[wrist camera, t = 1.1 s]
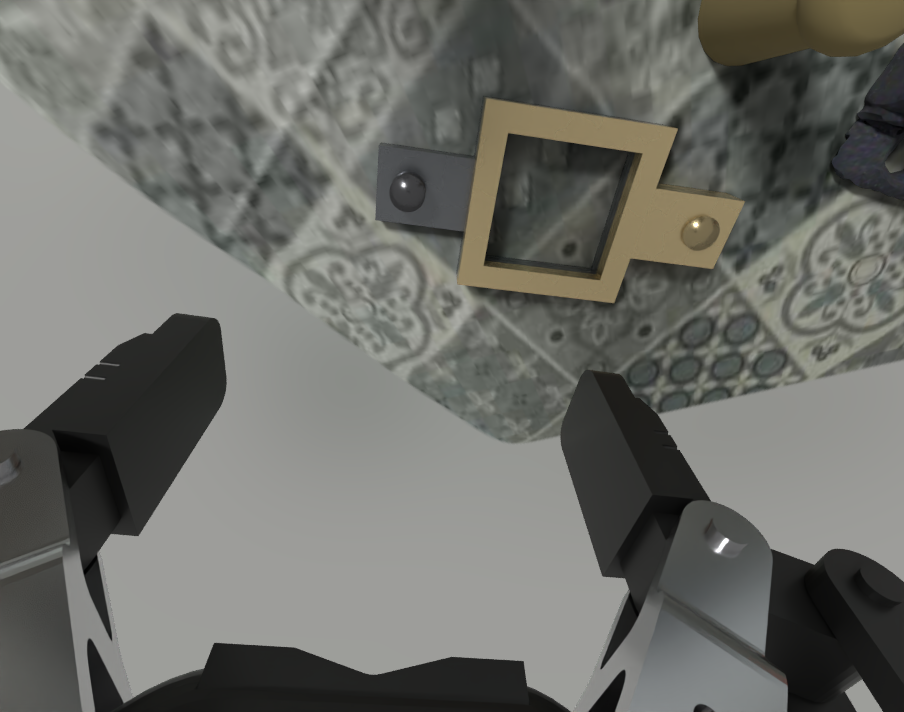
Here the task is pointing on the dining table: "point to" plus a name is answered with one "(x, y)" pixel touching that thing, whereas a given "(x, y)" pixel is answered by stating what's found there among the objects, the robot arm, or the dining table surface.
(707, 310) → the dining table surface
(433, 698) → the robot arm
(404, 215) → the chain end
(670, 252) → the chain end
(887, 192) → the crumpled black pouch
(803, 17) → the brown rounded peg
